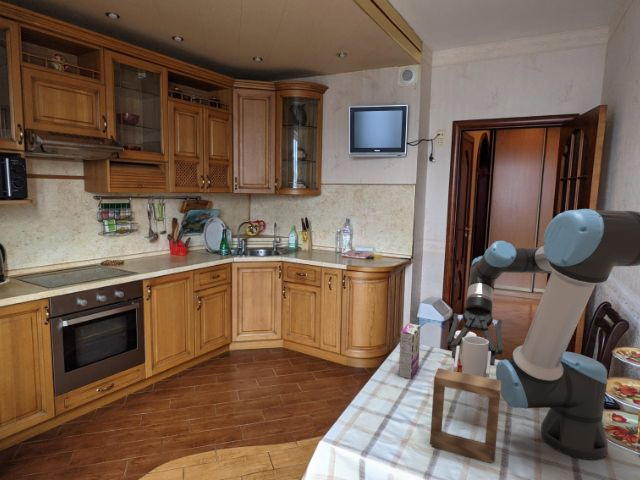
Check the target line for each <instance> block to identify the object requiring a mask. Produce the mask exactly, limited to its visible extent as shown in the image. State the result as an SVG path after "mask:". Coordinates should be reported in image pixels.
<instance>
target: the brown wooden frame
mask: <svg viewBox="0 0 640 480" xmlns="http://www.w3.org/2000/svg"><path fill="white" fill-rule="evenodd" d="M433 378H434V379H433V392H432V405H431V406H432V407H431V419H430V420H431V423H430V434H429V435H430V439H429V444H430V445H431V448H435V449H438V450H442V451H445V452H449V453H452V454H457V455H460V456H463V457H467V458H471V459H475V460H477V461H481V462H485V463H488V464H492V462H495V459H496V458H495V457H496V447H497V437H498V436H497V435H498V424H499V412H500V402H501V401H500V400H501V393H500V390H501V381H500V380H497V379H493V378H490V377H486V378H485V377H480V376H475V375H470V374H465V373H460V372H455V371H454V370H451V369H445V368H439V367H438V368H437V371H436V373H435V375H434V377H433ZM445 388H449V389H454V390H459V391H463V392H467V393H472V394H476V395H480V396H486V397H488V403H487V415H486V427H485V428H486V429H485V439H484V442H481V441H478V440H475V439H471V438H466V437H462V436H460V435H454V434H451V433H448V432H443V431H442V430H443V420H444V419H443V417H444V401H445V390H446V389H445Z"/></svg>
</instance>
